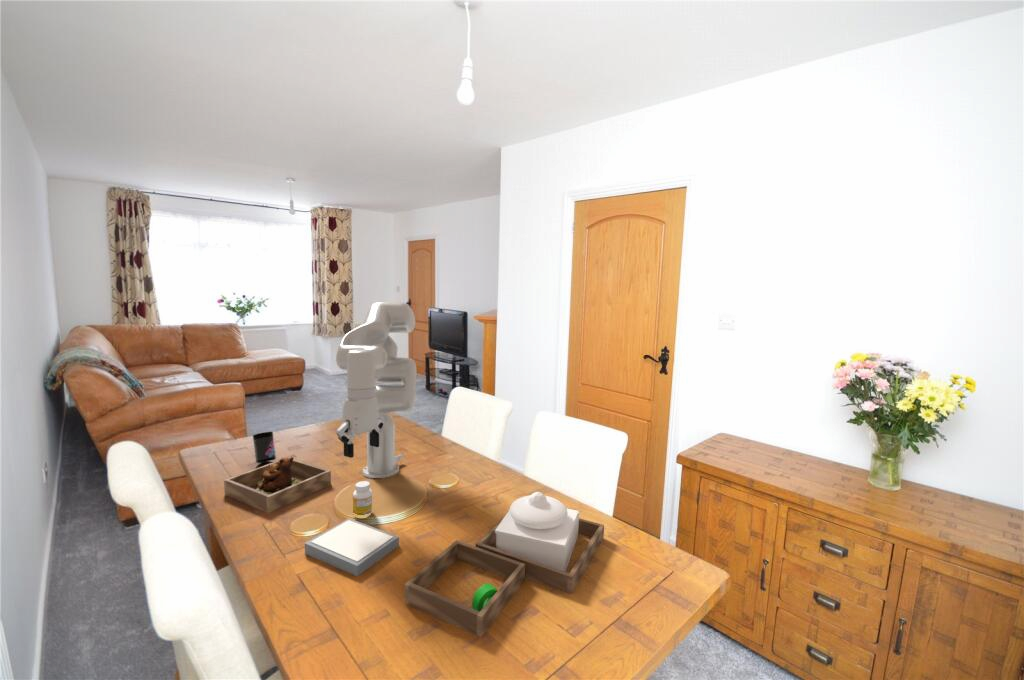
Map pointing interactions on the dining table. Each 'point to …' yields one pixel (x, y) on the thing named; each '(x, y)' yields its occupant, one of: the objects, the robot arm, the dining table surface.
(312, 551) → the plinth
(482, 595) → the mechanical part
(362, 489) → the supplement bottle
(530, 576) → the dish tray frame
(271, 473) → the bear figurine
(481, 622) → the tray
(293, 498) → the brown wooden tray
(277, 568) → the dining table surface
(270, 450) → the supplement container
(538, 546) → the butter dish
